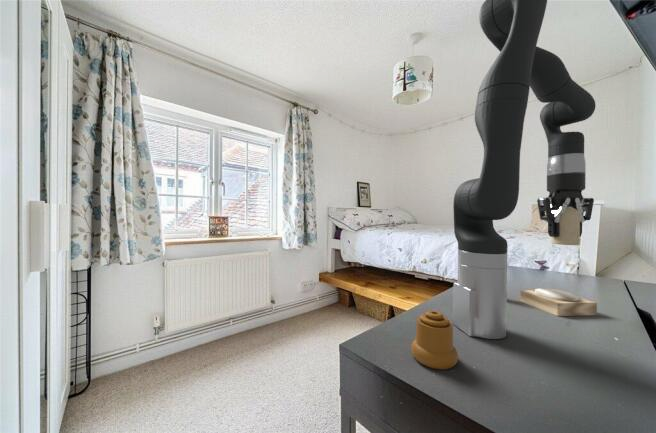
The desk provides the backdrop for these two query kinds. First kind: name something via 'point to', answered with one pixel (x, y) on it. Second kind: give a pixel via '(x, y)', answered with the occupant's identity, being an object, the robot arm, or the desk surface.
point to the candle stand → (558, 302)
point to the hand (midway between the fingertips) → (564, 236)
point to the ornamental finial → (434, 341)
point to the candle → (568, 228)
